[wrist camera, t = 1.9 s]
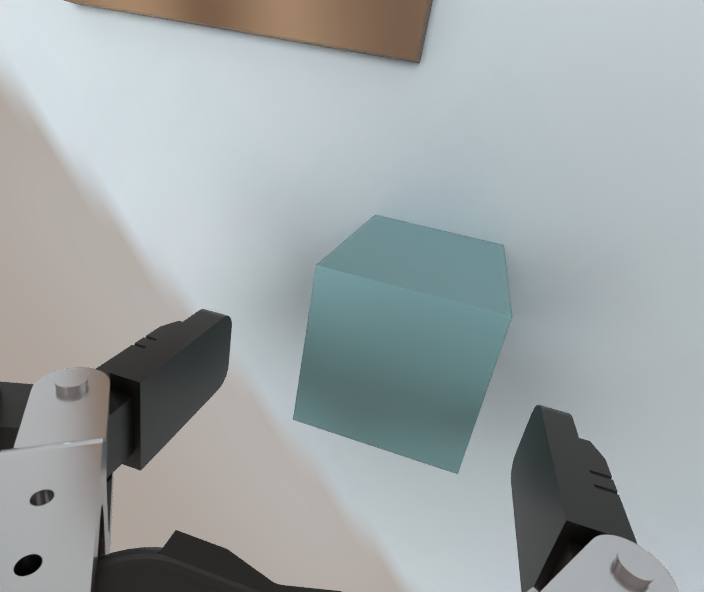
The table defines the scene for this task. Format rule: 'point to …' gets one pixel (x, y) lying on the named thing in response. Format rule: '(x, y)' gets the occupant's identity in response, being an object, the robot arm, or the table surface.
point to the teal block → (404, 339)
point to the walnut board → (302, 21)
